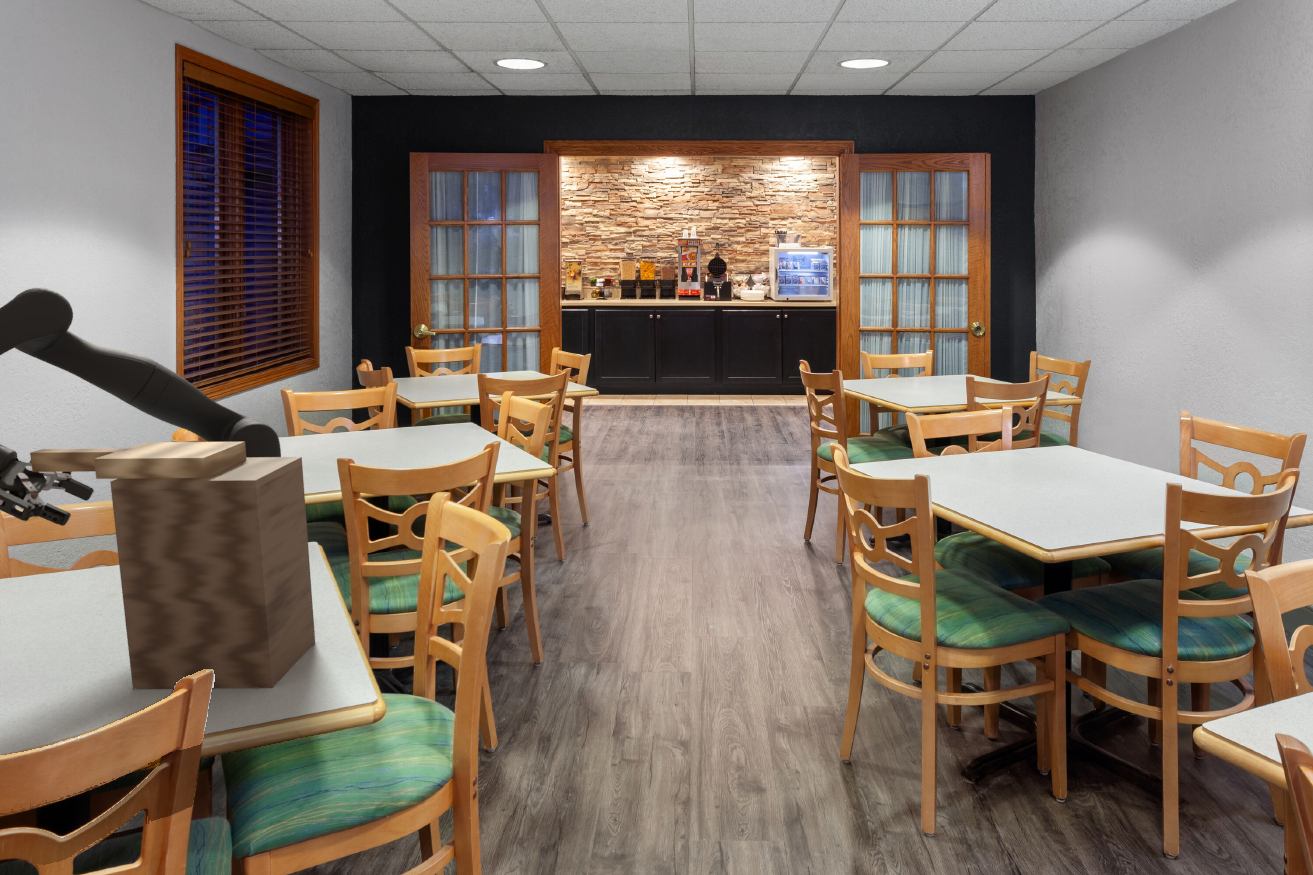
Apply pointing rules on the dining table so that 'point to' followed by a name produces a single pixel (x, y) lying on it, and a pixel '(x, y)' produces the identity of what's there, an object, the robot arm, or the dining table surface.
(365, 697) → the dining table surface
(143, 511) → the cabinet
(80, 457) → the bread board
